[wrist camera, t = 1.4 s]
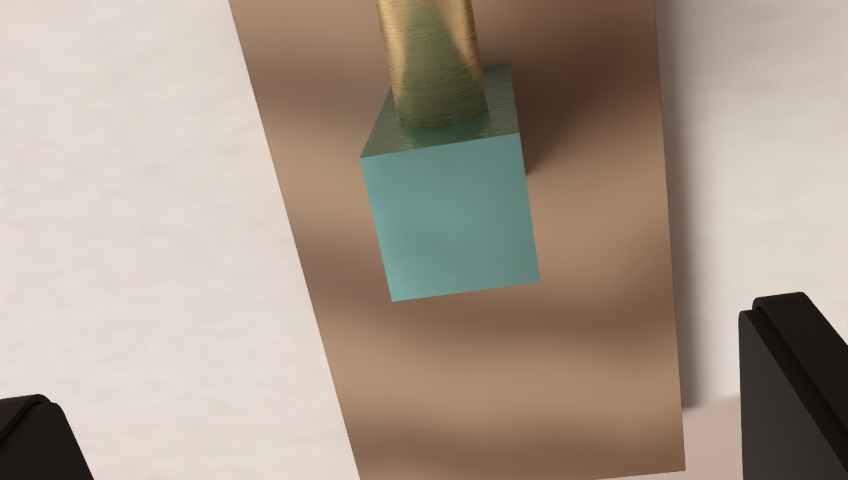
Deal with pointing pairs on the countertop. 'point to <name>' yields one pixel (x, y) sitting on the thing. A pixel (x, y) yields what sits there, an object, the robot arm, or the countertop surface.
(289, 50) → the walnut board
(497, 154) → the brass rod with block
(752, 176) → the countertop surface
